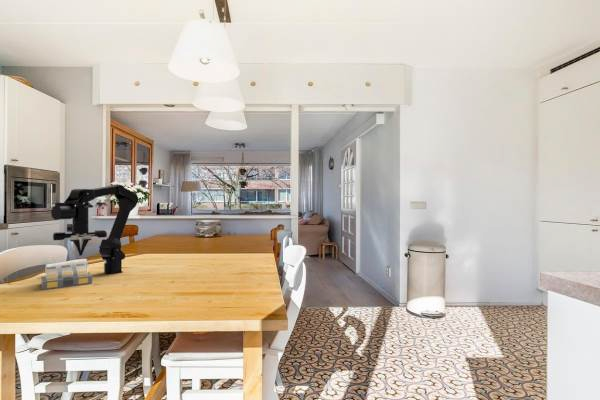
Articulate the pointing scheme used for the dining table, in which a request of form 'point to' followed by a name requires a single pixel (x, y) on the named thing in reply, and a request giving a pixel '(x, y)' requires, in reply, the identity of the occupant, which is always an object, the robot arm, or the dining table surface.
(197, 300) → the dining table surface
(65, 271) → the switch
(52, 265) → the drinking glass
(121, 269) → the robot arm
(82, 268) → the switch
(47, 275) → the switch
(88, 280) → the pill organizer box
